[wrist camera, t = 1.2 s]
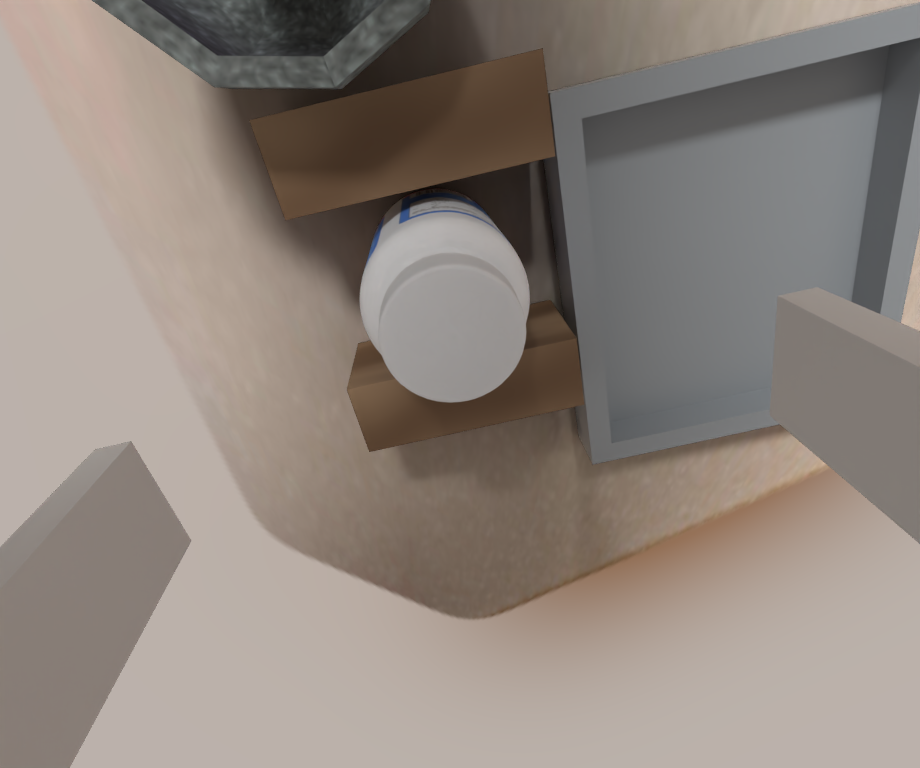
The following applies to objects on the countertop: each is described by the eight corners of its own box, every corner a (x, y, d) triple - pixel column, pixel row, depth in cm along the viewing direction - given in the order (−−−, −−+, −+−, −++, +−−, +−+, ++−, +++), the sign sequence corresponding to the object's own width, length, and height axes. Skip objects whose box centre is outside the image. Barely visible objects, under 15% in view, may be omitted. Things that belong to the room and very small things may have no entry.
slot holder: (282, 117, 20) (249, 119, 16) (517, 60, 20) (542, 48, 16) (376, 398, 26) (369, 451, 22) (558, 358, 25) (584, 404, 21)
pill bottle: (433, 335, 24) (442, 460, 16) (346, 249, 22) (301, 339, 14) (525, 255, 23) (590, 344, 14) (441, 155, 21) (458, 189, 12)
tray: (535, 94, 20) (549, 93, 18) (904, 5, 20) (966, -8, 17) (578, 436, 28) (592, 464, 25) (846, 377, 27) (884, 401, 25)
